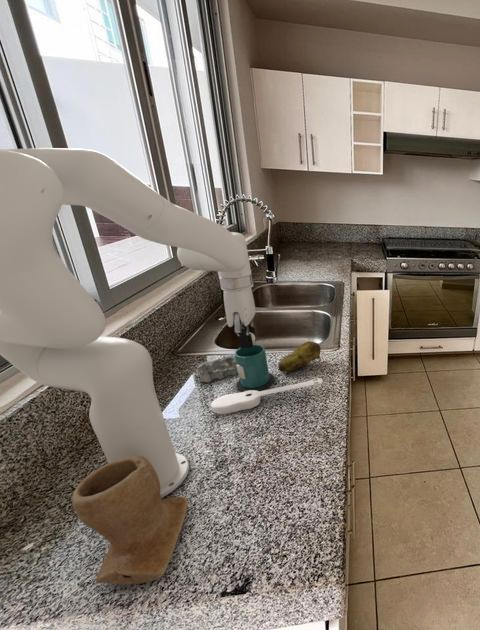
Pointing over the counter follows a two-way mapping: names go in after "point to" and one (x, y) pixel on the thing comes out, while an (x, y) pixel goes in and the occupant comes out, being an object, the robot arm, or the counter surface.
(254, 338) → the paper ball
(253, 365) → the bin
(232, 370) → the egg carton
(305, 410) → the counter surface
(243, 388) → the bin stand
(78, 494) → the stone cup
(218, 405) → the white handheld wand
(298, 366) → the olive green oblong piece
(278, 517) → the counter surface
